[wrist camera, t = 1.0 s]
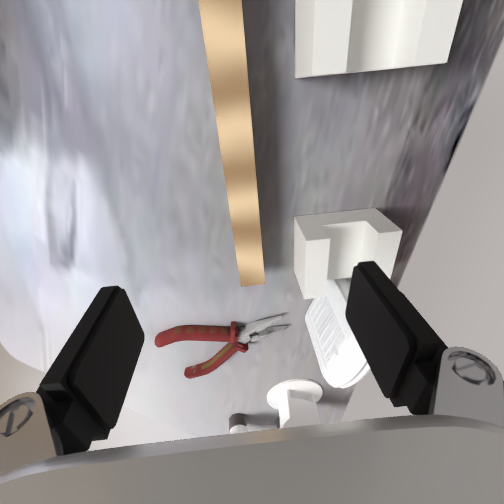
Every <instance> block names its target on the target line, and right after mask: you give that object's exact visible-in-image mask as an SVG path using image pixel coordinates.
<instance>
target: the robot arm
mask: <svg viewBox="0 0 504 504" xmlns="http://www.w3.org/2000/svg"><path fill="white" fill-rule="evenodd" d="M345 316H346V320H347V322H348V324H349V326H350V328H351V330H352V332H353V334H354V336H355V338H356V340H357V343H358V345H359V347H360V349H361V351H362V353H363V355H364V357H365V359H366V361H367V363H368V365H369V367H370V369H371V371H372V373H373V375H374V377H375V379H376V381H377V383H378V385H379V387H380V389H381V391H382V393H383V394H384V396H385V397H386V398H390V400H391V402H392V404H393V406H394V407H400V406H407V407H408V409H409V411H410V413H412V415H409V416H397V417H386V418H375V419H363V420H355V421H345V422H335V423H326V424H317V425H307V426H298V427H289V428H280V429H271V430H262V431H253V432H244V433H235V434H226V435H217V436H209V437H200V438H191V439H184V440H175V441H166V442H157V443H149V444H141V445H133V446H124V447H117V448H109V449H102V450H94V451H89V450H88V449H89V447H90V444H91V442H92V441H96V440H105V439H107V438H108V435H109V432H110V429H113V428H114V427H115V425H116V423H117V420H118V417H119V414H120V411H121V408H122V405H123V403H124V400H125V397H126V394H127V391H128V388H129V385H130V382H131V379H132V376H133V373H134V370H135V367H136V364H137V361H138V358H139V355H140V352H141V349H142V346H143V343H144V332H143V330H142V328H141V325H140V323H139V321H138V318H137V316H136V314H135V312H134V309H133V307H132V305H131V303H130V300H129V298H128V296H127V294H126V291H125V290H124V289H121V288H120V287H119V286H109V287H102V288H101V289H100V290H99V292H98V294H97V295H96V297H95V298H94V300H93V301H92V303H91V304H90V306H89V308H88V309H87V311H86V312H85V314H84V315H83V317H82V319H81V320H80V322H79V323H78V325H77V326H76V328H75V330H74V331H73V333H72V334H71V336H70V337H69V339H68V341H67V342H66V344H65V345H64V347H63V348H62V350H61V352H60V353H59V355H58V356H57V358H56V359H55V361H54V363H53V364H52V366H51V367H50V369H49V370H48V372H47V374H46V375H45V377H44V378H43V380H42V382H41V383H40V386H39V388H38V390H37V391H36V393H35V392H26V393H22V394H19V395H17V396H15V397H13V398H11V399H9V400H7V401H6V402H4V403H3V404H2V405H0V504H504V381H503V378H502V375H501V373H500V371H499V370H498V368H497V367H496V366H495V365H494V364H493V363H492V362H491V361H490V360H489V359H487V358H486V357H484V356H483V355H481V354H480V353H477V352H475V351H473V350H470V349H467V348H464V347H450V348H448V347H447V346H446V345H445V343H444V342H443V341H442V340H441V339H440V338H439V336H438V335H437V334H436V333H435V331H434V330H433V329H432V328H431V327H430V325H429V324H428V323H427V322H426V321H425V319H424V318H423V317H422V316H421V315H420V313H419V312H418V311H417V310H416V309H415V308H414V306H413V305H412V304H411V303H410V301H409V300H408V299H407V298H406V297H405V295H404V294H403V293H402V292H400V291H399V290H398V289H397V287H396V286H395V285H394V284H393V283H392V281H391V280H390V279H389V278H388V277H387V275H386V274H385V273H384V272H383V271H382V269H381V268H380V267H379V266H378V264H377V263H376V262H375V261H365V262H359V263H358V264H357V266H354V268H353V272H352V278H351V283H350V289H349V294H348V300H347V305H346V311H345Z"/></svg>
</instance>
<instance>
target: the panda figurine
mask: <svg viewBox="0 0 504 504" xmlns="http://www.w3.org/2000/svg"><path fill="white" fill-rule="evenodd" d="M321 396H322V388H321V386H320V385H319V384H318V383H317V382H315V381H312V380H309V379H291V380H287V381H284V382H281V383H279V384H277V385H275V386H274V387H273V388H272V389H271V390H270V391H269V392H268V395H267V401H268V403H269V405H270V406H272V407H273V408H275V409H278V410H279V417H278V418H277V419H276V421H275V424H276V426H277V428H278V429H280V428H289V427H298V426H307V425H317V424H321V422H320V418H319V414H318V411H317V406H316V402H318V401H319V399H320V398H321ZM279 421H280V424H279Z"/></svg>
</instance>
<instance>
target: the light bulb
mask: <svg viewBox="0 0 504 504" xmlns="http://www.w3.org/2000/svg"><path fill="white" fill-rule="evenodd" d="M246 424H247V423H246V416H245V415H243V414H235V415H232V416H231V417H230V419H229V430H230V434H235V433H244V432H248V428H247V425H246Z"/></svg>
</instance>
